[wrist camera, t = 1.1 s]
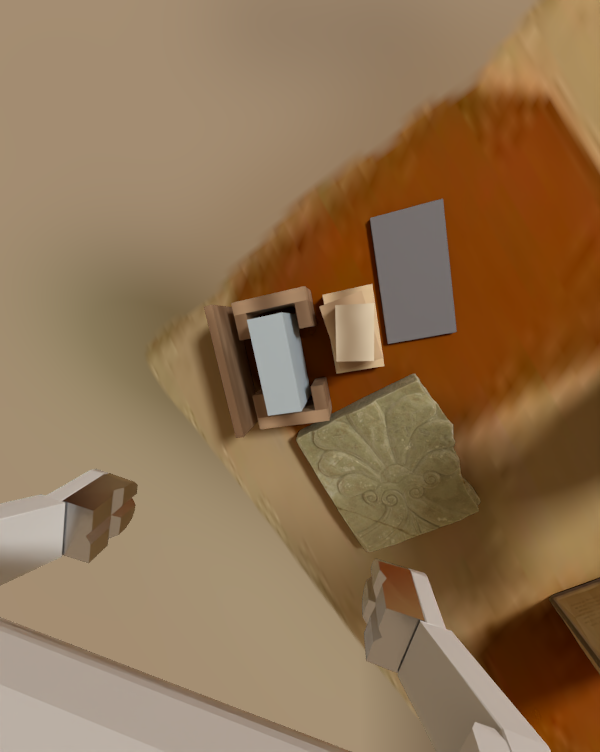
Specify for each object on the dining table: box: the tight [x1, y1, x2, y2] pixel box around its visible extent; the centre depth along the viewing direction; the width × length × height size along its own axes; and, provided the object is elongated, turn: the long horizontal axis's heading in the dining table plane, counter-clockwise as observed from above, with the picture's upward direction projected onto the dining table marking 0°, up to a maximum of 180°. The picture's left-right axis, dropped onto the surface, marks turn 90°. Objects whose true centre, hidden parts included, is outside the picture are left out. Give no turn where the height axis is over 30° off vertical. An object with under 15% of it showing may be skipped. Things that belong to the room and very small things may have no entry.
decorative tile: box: [296, 374, 480, 552], centre depth 37 cm, size 19×20×4 cm
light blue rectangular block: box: [247, 312, 311, 416], centre depth 34 cm, size 4×11×8 cm, turn 11°
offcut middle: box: [319, 290, 383, 371], centre depth 33 cm, size 5×8×2 cm, turn 20°
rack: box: [204, 286, 332, 438], centre depth 35 cm, size 12×16×7 cm
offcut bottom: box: [323, 284, 384, 374], centre depth 36 cm, size 6×10×2 cm, turn 11°
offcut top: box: [335, 303, 374, 362], centre depth 31 cm, size 4×6×2 cm, turn 3°
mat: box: [370, 199, 457, 344], centre depth 33 cm, size 8×15×1 cm, turn 11°
